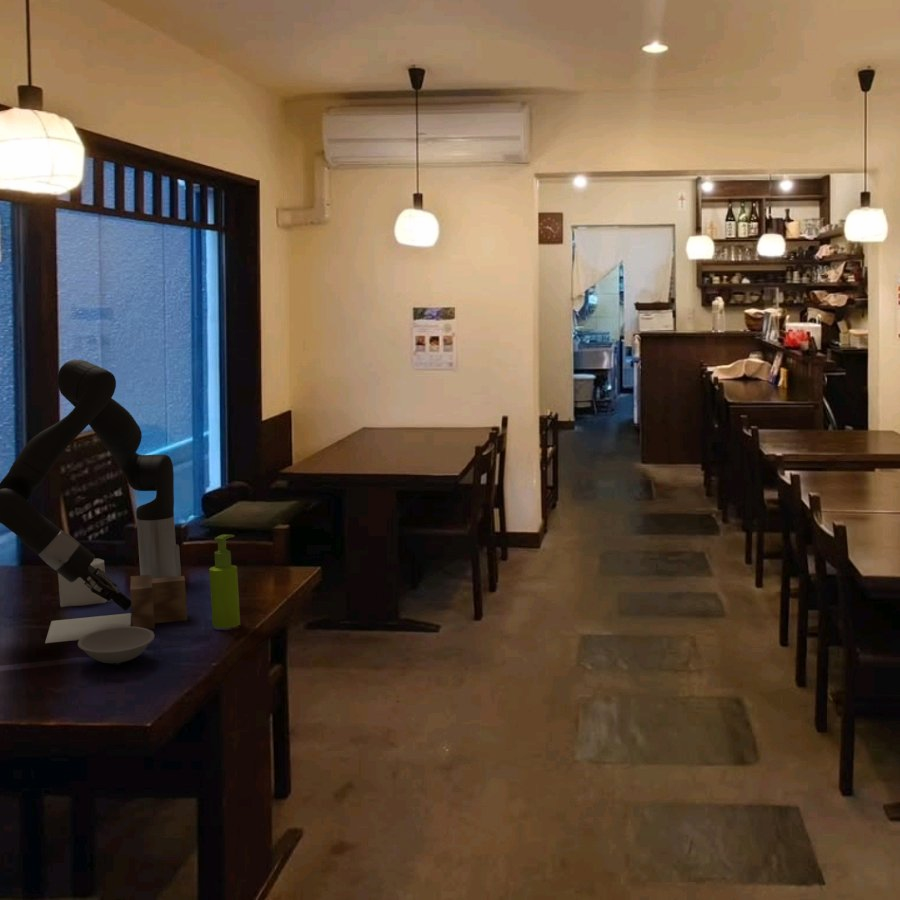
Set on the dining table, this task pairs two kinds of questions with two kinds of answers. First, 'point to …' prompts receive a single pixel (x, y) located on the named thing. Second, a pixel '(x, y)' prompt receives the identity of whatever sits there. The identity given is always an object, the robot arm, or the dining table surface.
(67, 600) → the toilet tissue
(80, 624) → the board
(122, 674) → the dining table surface
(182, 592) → the t block
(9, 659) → the dining table surface
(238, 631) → the dining table surface
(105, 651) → the dish
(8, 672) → the dining table surface
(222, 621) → the soap dispenser
